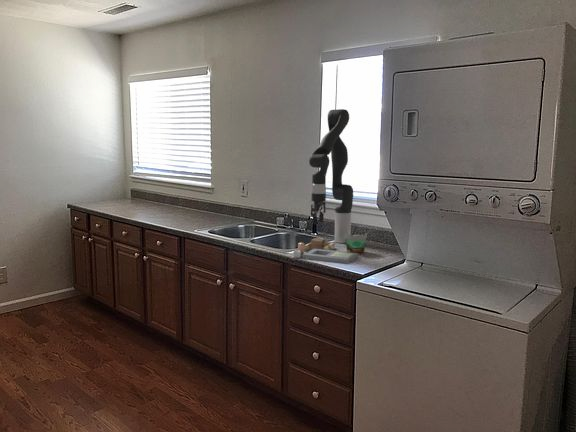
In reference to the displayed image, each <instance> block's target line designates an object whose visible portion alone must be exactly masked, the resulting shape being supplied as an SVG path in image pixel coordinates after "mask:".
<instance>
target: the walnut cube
mask: <svg viewBox="0 0 576 432" xmlns="http://www.w3.org/2000/svg"><path fill="white" fill-rule="evenodd" d="M325 242H326V238H319V237H317V238H316V237H314V238H312V239H310V243H311V249H310V250H312V249H323V247H325Z"/></svg>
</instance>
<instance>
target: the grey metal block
mask: <svg viewBox="0 0 576 432" xmlns="http://www.w3.org/2000/svg"><path fill="white" fill-rule="evenodd" d="M301 258H302V255H301V250H298V249H294V250H293V259H301Z"/></svg>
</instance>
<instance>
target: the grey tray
mask: <svg viewBox="0 0 576 432" xmlns="http://www.w3.org/2000/svg"><path fill="white" fill-rule="evenodd" d="M358 257H359V254H358V253H351V252H347V251H341V250H334V249H332V250H324V249H312V250H311V249H309V250H307V252H306V251H305V252H304V254H303V255H302V259H306V260H314V261H322V262H331V263H340V264H350V263H351V262H352V261H354V260H356V259H357V258H358Z"/></svg>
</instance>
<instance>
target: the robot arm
mask: <svg viewBox="0 0 576 432" xmlns="http://www.w3.org/2000/svg"><path fill="white" fill-rule="evenodd" d="M349 121H350V113H349V111H348V110H347V109H344V108H343V109H341V108H339V109H330V110H329V111H328V112H327V125H328V126H327V127H328V132H327V133H326V134H325V135H324V136H323V137H322V139H321V141H320V142H319V144H318V146H317V148H316V149H315V150H314V151H313V152H312V153H311V155H310V156H309V159H308V162H309V166H310V167H312V168H315V169H318V168H320V169H319V171H315V172H313V173H312V176H311V177H312V178H311V180H312V181H311V201H312V202H313V204H311V205H310V217H312V224H314V225H317V224H318V221H319V222H324V215H325V214H326V210H327V208H326V200H327V197H326V196H327V193H326V192H327V187H326V183H327V182H326V181H327V179H326V178H327V177H326V176H327V173H328V169H329V166H330V158H329V155H330V154H331V155H330V156H331V167H332V174H331V175H332V181H331V182H332V183H331V187H332V188H331V192H332V193H331V195H332V197H333V199H335V200H337V201H341V204H340V205H338V206H336V207H334V208H335V209H334V243H339V244H346V238H344V237H345V234H347V235H351V234H352V233H351V231H352V228H351V227H352V208H353V203H354V202H353V201H354V190H353V189H354V188H353V186H352V185H350V184H343V181H342V179H343V174H344V172H345V171H344V170H345V169H346V168H347V165H348V162H349V161H348V160H349V155H348V153H349V152H348V148H347V146H346V145H345V142H344V141H343V140H342V139H341V136H340V135H341V134H342V133H343V131H344V130H345V129H346V127H347V126H348V124H349ZM318 215H319V216H318ZM318 217H319V219H318Z"/></svg>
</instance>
